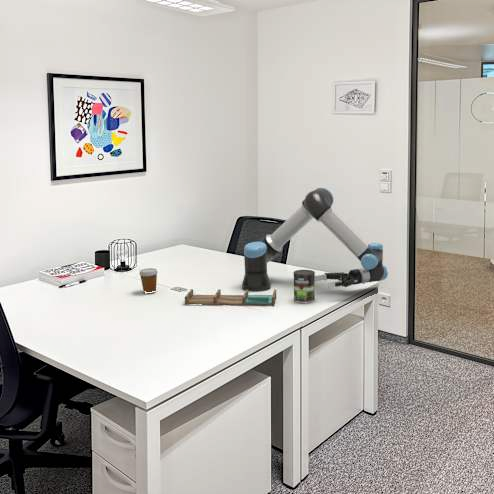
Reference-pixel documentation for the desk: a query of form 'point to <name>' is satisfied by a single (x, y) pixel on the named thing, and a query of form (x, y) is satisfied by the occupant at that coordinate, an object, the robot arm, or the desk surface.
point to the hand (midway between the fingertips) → (321, 281)
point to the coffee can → (304, 286)
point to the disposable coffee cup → (149, 279)
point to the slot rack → (231, 299)
